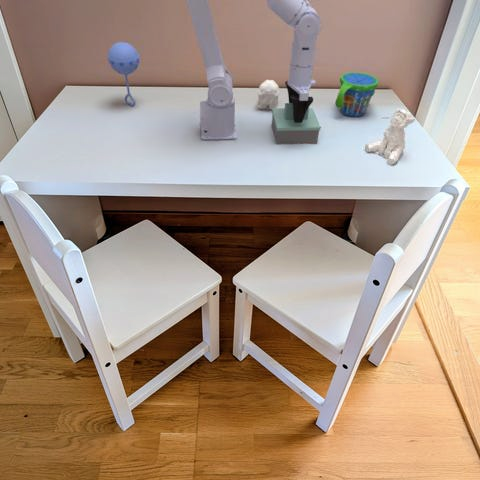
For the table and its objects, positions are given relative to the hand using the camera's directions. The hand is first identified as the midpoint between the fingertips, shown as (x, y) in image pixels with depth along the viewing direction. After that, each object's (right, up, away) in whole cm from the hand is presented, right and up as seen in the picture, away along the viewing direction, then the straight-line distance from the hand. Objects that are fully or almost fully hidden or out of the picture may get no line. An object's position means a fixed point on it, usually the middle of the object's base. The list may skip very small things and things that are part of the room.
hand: (295, 115), depth 109 cm
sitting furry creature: (+24, -11, -3) cm, 26 cm away
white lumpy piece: (-6, +9, +18) cm, 20 cm away
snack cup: (+19, +5, +14) cm, 25 cm away
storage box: (0, -4, +4) cm, 5 cm away
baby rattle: (-48, +8, +15) cm, 51 cm away
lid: (0, -1, +1) cm, 2 cm away
